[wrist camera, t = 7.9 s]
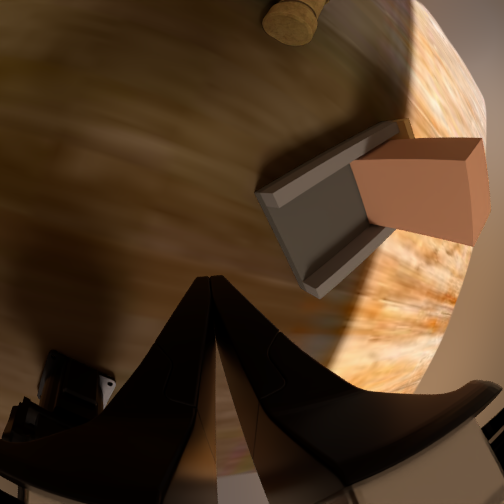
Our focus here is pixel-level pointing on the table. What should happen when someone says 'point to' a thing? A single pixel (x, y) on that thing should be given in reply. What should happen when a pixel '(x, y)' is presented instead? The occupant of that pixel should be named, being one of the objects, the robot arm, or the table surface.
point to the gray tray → (327, 211)
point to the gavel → (293, 20)
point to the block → (426, 187)
